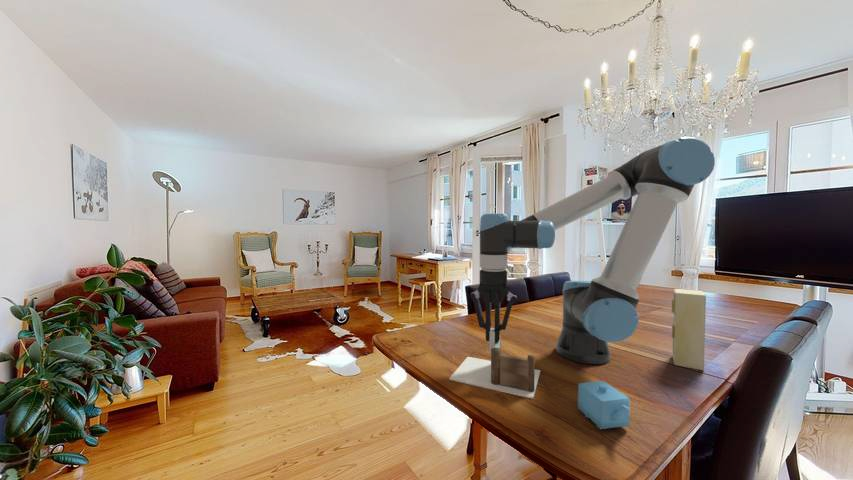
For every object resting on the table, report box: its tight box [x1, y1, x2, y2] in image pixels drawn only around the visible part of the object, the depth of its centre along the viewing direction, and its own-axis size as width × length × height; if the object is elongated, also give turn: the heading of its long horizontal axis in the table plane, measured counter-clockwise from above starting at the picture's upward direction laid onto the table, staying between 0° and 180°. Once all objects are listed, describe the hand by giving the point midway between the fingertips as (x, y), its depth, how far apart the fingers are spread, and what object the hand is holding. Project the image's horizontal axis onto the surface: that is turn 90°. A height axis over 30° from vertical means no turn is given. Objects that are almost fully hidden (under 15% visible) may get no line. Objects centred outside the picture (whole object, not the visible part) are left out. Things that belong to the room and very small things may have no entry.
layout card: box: [448, 356, 541, 400], centre depth 84 cm, size 21×15×1 cm
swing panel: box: [494, 334, 502, 350], centre depth 86 cm, size 10×2×8 cm, turn 164°
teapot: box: [577, 380, 632, 430], centre depth 64 cm, size 12×6×8 cm, turn 10°
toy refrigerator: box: [671, 288, 707, 371], centre depth 91 cm, size 8×7×21 cm
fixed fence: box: [490, 348, 536, 392], centre depth 78 cm, size 11×2×9 cm, turn 64°
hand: (492, 352), depth 88 cm, fingers closed
